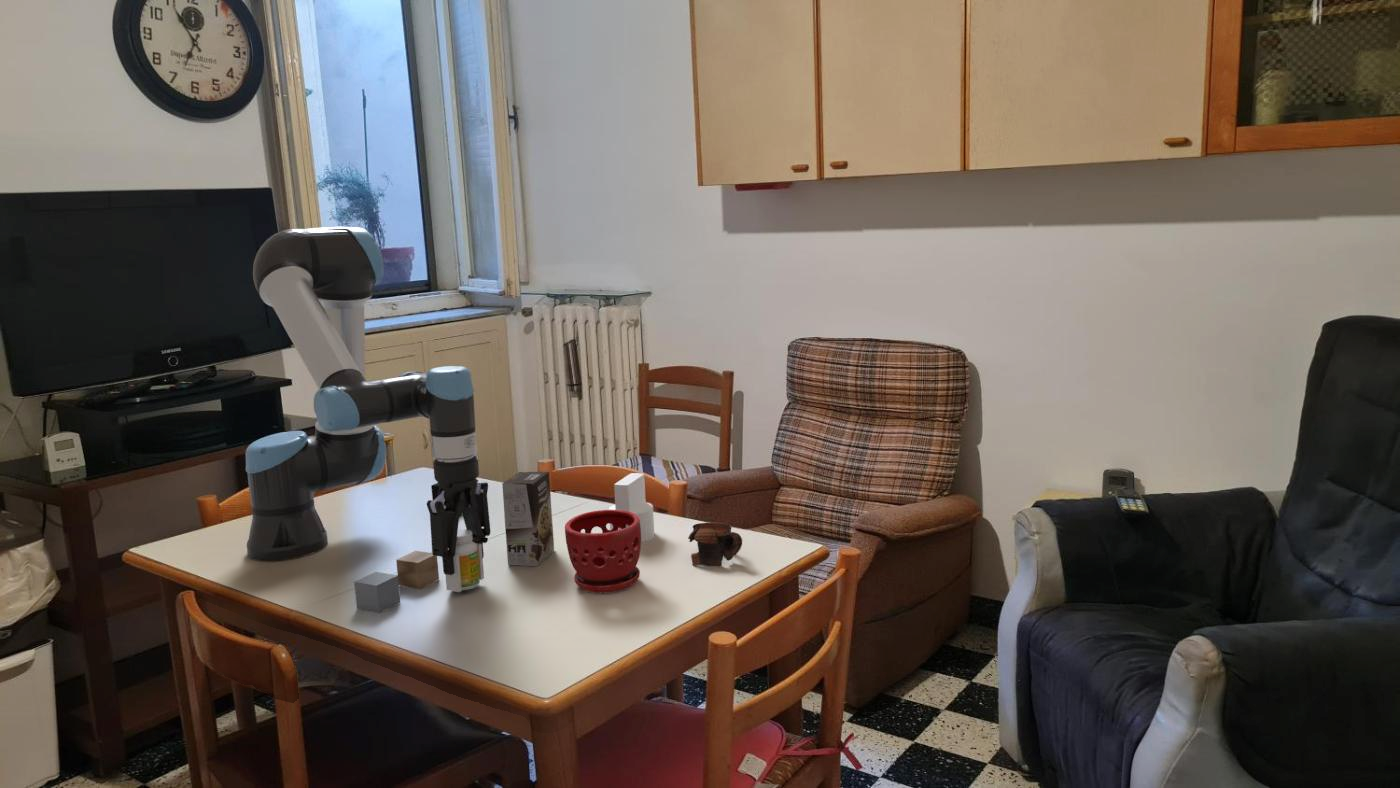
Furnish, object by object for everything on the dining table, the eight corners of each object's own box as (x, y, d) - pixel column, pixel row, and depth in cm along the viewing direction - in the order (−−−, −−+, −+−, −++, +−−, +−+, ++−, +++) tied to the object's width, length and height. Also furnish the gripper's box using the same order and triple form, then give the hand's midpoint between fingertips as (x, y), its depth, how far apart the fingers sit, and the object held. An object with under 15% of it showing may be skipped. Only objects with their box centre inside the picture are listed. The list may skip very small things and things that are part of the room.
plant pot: (575, 572, 176) (571, 509, 174) (646, 570, 176) (643, 507, 174) (562, 600, 164) (558, 533, 162) (639, 598, 163) (636, 530, 161)
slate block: (357, 609, 163) (354, 581, 162) (378, 598, 168) (375, 571, 167) (379, 613, 161) (376, 585, 160) (400, 602, 166) (397, 575, 165)
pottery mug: (676, 567, 179) (678, 523, 182) (707, 575, 186) (708, 532, 189) (728, 561, 172) (730, 516, 175) (758, 570, 179) (759, 526, 181)
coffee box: (539, 566, 180) (533, 483, 177) (506, 565, 181) (500, 483, 179) (555, 550, 189) (550, 470, 186) (525, 549, 190) (519, 470, 187)
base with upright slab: (644, 544, 190) (641, 486, 188) (603, 541, 193) (599, 483, 191) (660, 530, 199) (658, 474, 196) (620, 527, 201) (617, 472, 199)
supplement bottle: (475, 590, 167) (472, 537, 165) (445, 591, 167) (440, 538, 165) (483, 579, 173) (479, 527, 171) (453, 579, 173) (449, 527, 171)
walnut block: (398, 586, 173) (396, 559, 172) (417, 576, 178) (415, 550, 177) (420, 589, 171) (417, 562, 170) (439, 579, 176) (436, 553, 175)
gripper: (436, 472, 156) (447, 606, 160) (505, 446, 172) (514, 569, 176) (400, 468, 159) (412, 600, 163) (472, 442, 175) (481, 563, 179)
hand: (465, 583), depth 170 cm, fingers closed on supplement bottle, 5 cm apart
